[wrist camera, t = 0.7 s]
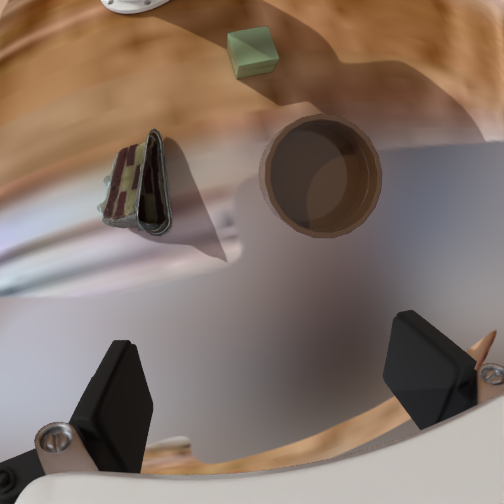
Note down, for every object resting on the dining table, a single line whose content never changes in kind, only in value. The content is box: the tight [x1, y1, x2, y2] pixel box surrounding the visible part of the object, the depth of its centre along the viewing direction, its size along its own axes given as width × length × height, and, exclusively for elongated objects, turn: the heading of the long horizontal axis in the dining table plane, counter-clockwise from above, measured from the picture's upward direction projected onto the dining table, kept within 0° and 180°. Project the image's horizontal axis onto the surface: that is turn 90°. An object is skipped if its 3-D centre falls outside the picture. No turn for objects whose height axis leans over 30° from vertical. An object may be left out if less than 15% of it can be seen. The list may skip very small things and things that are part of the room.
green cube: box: [227, 26, 279, 79], centre depth 28 cm, size 4×4×4 cm
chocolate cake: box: [97, 128, 173, 236], centre depth 32 cm, size 10×7×12 cm
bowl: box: [259, 114, 382, 238], centre depth 32 cm, size 13×13×5 cm
